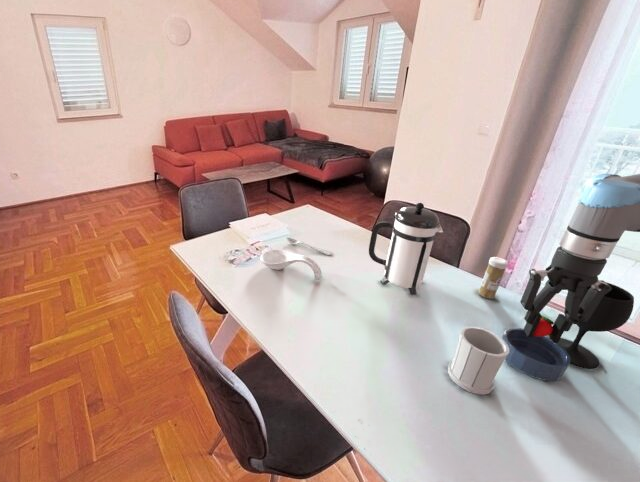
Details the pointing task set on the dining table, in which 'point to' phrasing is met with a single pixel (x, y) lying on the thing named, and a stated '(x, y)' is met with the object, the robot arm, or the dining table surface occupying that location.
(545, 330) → the strawberry
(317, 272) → the spoon rest
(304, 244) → the spoon
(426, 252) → the coffee press
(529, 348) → the bowl
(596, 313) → the wine glass
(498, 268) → the sprinkles bottle
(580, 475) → the dining table surface
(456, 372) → the cup
